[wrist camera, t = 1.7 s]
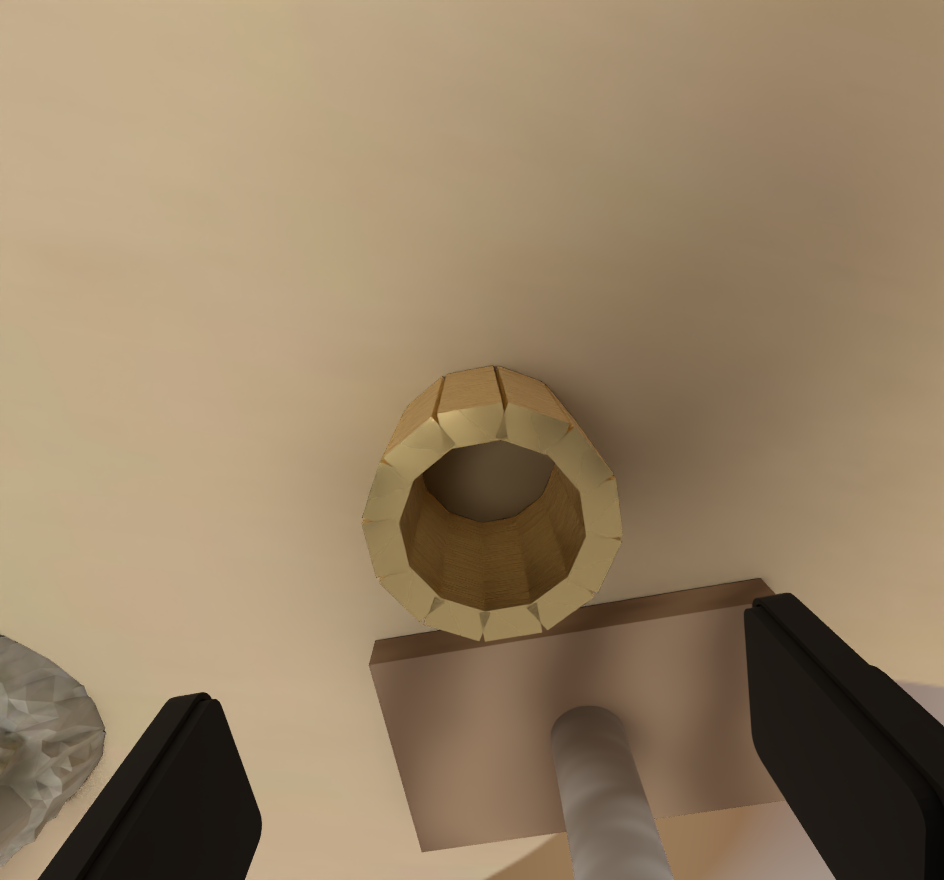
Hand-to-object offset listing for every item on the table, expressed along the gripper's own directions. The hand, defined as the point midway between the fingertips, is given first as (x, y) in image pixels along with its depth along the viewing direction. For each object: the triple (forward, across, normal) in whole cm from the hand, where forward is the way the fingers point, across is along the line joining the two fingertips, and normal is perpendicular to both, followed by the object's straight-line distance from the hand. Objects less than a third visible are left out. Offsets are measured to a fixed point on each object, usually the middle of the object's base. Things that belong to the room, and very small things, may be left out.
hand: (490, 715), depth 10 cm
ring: (+12, -1, -1) cm, 12 cm away
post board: (+12, -3, +11) cm, 17 cm away
